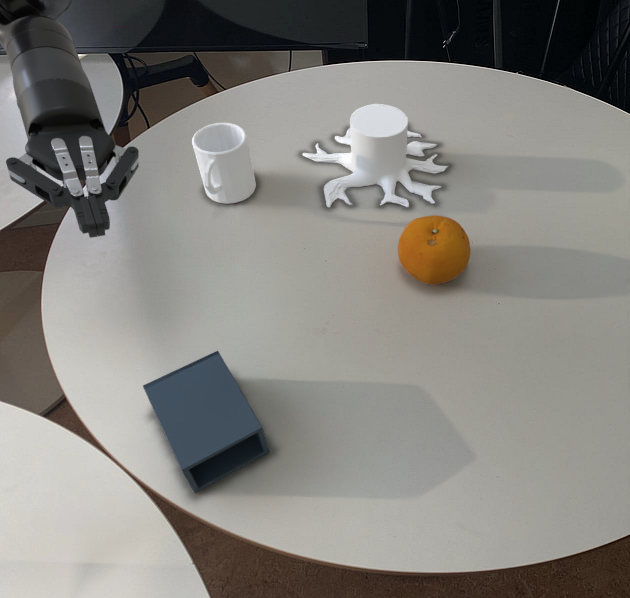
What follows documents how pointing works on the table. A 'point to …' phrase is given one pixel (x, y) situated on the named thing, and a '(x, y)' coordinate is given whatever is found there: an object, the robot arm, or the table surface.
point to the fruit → (434, 249)
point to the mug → (224, 162)
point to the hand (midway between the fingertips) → (97, 232)
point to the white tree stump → (378, 155)
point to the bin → (206, 420)
